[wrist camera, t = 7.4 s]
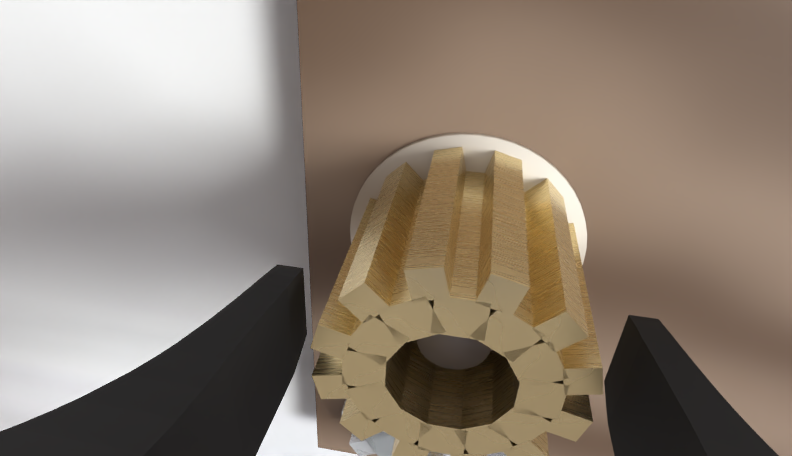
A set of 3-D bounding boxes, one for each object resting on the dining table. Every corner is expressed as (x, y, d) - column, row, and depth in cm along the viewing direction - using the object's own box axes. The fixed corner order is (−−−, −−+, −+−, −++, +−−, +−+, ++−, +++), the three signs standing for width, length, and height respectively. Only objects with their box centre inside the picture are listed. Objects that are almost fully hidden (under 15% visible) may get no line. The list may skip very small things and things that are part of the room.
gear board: (736, 485, 21) (801, 657, 16) (328, 415, 23) (283, 551, 18) (1083, -32, 11) (1490, 34, 6) (313, -84, 13) (207, -62, 8)
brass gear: (550, 335, 16) (565, 493, 12) (361, 307, 17) (315, 448, 13) (598, 161, 13) (641, 294, 9) (364, 135, 14) (304, 247, 10)
